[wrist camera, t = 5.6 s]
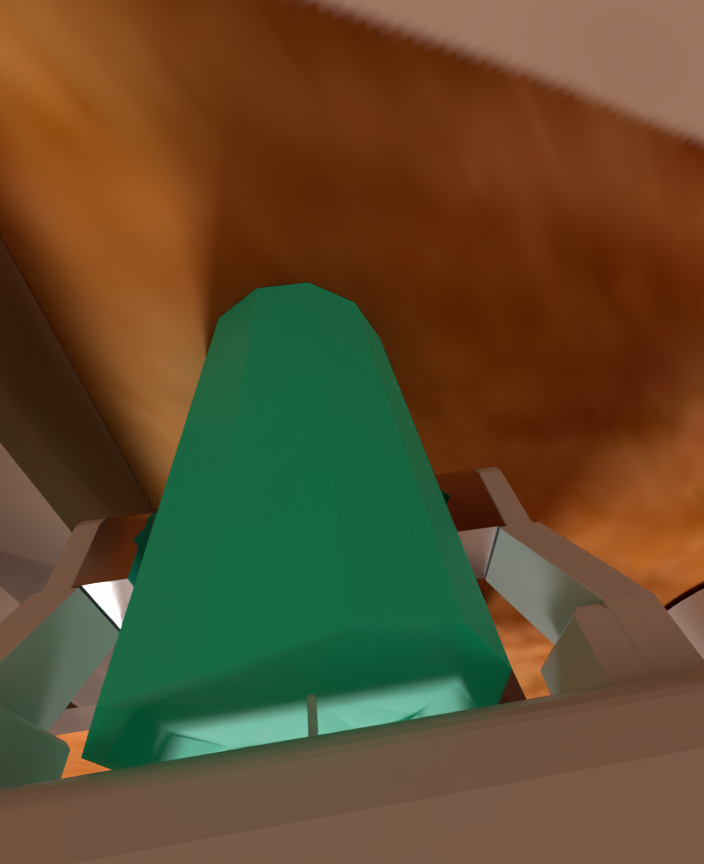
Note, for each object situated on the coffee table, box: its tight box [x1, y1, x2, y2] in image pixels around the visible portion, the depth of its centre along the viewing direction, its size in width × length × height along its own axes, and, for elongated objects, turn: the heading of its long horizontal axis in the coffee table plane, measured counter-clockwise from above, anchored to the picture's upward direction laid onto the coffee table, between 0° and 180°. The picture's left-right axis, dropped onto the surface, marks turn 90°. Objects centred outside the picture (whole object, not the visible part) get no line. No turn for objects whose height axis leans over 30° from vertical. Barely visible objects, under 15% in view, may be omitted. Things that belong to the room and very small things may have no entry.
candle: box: [81, 282, 512, 770], centre depth 9 cm, size 6×6×12 cm
